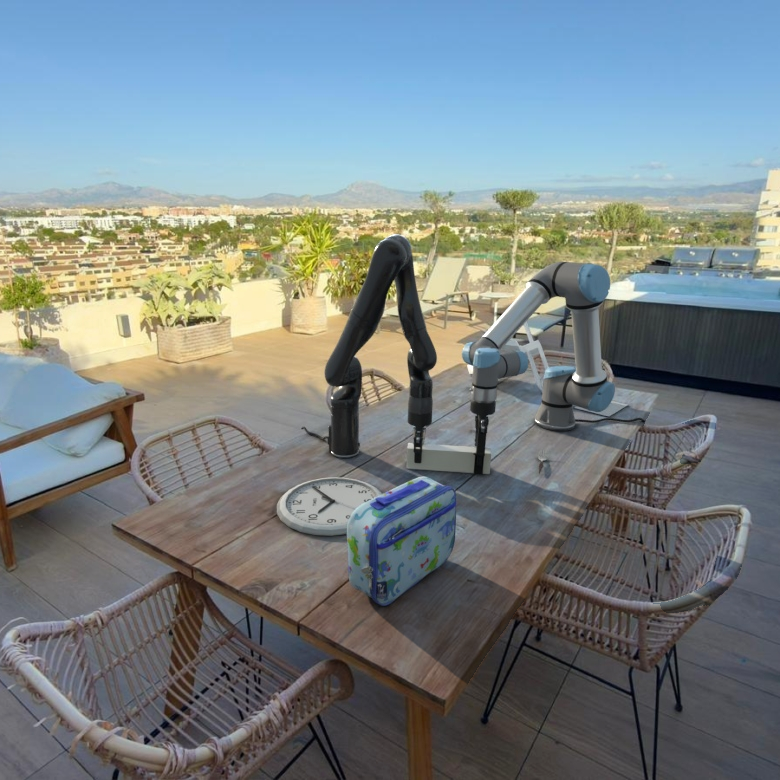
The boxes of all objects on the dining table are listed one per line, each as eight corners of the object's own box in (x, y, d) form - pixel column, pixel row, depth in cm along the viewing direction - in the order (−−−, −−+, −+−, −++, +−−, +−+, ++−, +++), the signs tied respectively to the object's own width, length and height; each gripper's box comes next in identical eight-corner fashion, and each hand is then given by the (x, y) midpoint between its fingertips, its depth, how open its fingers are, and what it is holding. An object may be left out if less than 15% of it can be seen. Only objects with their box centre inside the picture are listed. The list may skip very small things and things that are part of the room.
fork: (534, 474, 163) (535, 468, 162) (539, 454, 177) (539, 449, 176) (543, 475, 162) (544, 469, 161) (547, 455, 176) (547, 450, 175)
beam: (488, 468, 167) (490, 447, 165) (489, 474, 162) (491, 453, 160) (407, 462, 170) (408, 442, 167) (406, 468, 165) (407, 448, 163)
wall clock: (392, 527, 129) (268, 531, 127) (391, 533, 130) (269, 537, 127) (383, 473, 158) (282, 475, 155) (383, 478, 158) (282, 480, 156)
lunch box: (376, 619, 101) (377, 524, 95) (340, 592, 109) (339, 502, 102) (459, 562, 119) (465, 479, 113) (424, 542, 126) (427, 463, 120)
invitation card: (608, 416, 214) (573, 407, 224) (608, 416, 214) (573, 408, 224) (628, 404, 229) (594, 396, 238) (628, 405, 229) (594, 397, 238)
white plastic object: (488, 421, 262) (468, 398, 237) (469, 348, 284) (449, 320, 260) (560, 397, 250) (547, 371, 225) (534, 322, 272) (520, 291, 247)
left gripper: (410, 400, 168) (408, 449, 173) (405, 415, 155) (404, 468, 160) (433, 402, 168) (431, 451, 173) (431, 417, 154) (429, 470, 159)
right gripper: (470, 390, 167) (465, 457, 174) (471, 408, 150) (466, 481, 157) (493, 391, 166) (488, 458, 173) (498, 409, 149) (491, 483, 156)
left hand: (418, 459), depth 166 cm, fingers closed on beam, 4 cm apart
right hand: (477, 469), depth 165 cm, fingers closed on beam, 4 cm apart
